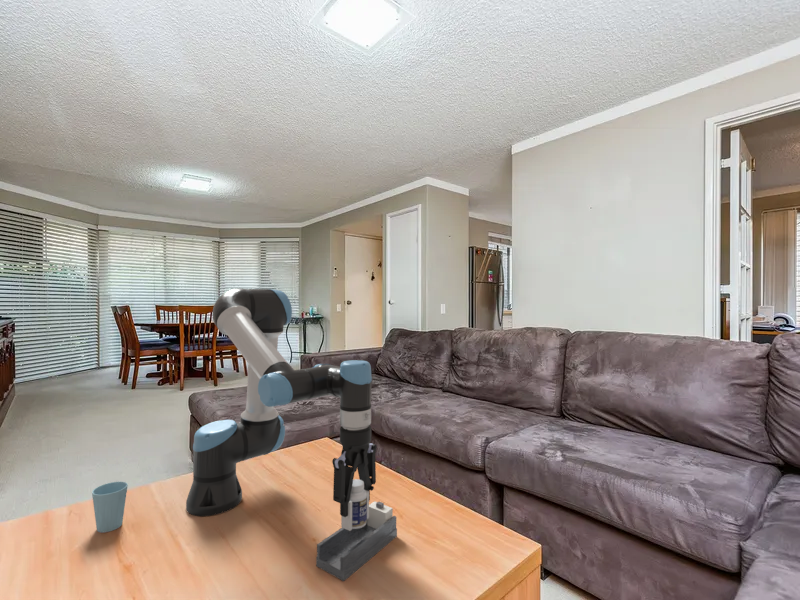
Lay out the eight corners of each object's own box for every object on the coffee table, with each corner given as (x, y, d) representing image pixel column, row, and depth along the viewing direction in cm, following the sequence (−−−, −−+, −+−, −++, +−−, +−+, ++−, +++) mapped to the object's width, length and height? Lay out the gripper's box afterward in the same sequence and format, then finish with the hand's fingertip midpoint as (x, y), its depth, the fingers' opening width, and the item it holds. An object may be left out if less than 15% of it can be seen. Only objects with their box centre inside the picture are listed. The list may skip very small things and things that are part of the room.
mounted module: (367, 525, 102) (367, 502, 102) (374, 520, 105) (374, 497, 105) (385, 532, 99) (385, 509, 99) (392, 527, 101) (392, 504, 101)
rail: (316, 566, 89) (316, 544, 89) (371, 525, 106) (371, 506, 106) (343, 581, 84) (343, 558, 84) (396, 536, 101) (396, 516, 101)
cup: (132, 517, 109) (133, 480, 109) (118, 533, 101) (118, 493, 101) (102, 520, 108) (102, 482, 108) (85, 536, 100) (85, 496, 100)
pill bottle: (363, 531, 91) (363, 488, 91) (341, 528, 92) (341, 486, 92) (369, 518, 96) (369, 478, 96) (348, 516, 97) (348, 476, 97)
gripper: (340, 439, 84) (340, 547, 84) (390, 419, 100) (390, 510, 99) (316, 432, 89) (315, 535, 88) (368, 414, 104) (367, 501, 104)
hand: (355, 522), depth 94 cm, fingers closed on pill bottle, 5 cm apart
